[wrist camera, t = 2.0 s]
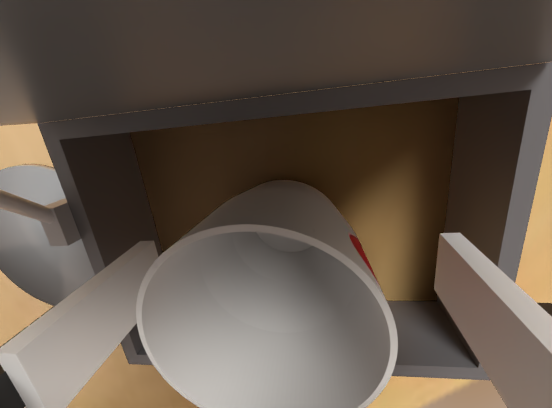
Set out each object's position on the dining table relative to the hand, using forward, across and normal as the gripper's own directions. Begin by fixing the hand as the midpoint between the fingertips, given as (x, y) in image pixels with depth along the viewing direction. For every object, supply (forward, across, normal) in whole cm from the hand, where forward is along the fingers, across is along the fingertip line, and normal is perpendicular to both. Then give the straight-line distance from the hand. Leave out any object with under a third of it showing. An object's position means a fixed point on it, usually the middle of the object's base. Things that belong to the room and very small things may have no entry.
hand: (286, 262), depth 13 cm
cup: (+6, 0, 0) cm, 6 cm away
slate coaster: (+5, -18, -1) cm, 19 cm away
